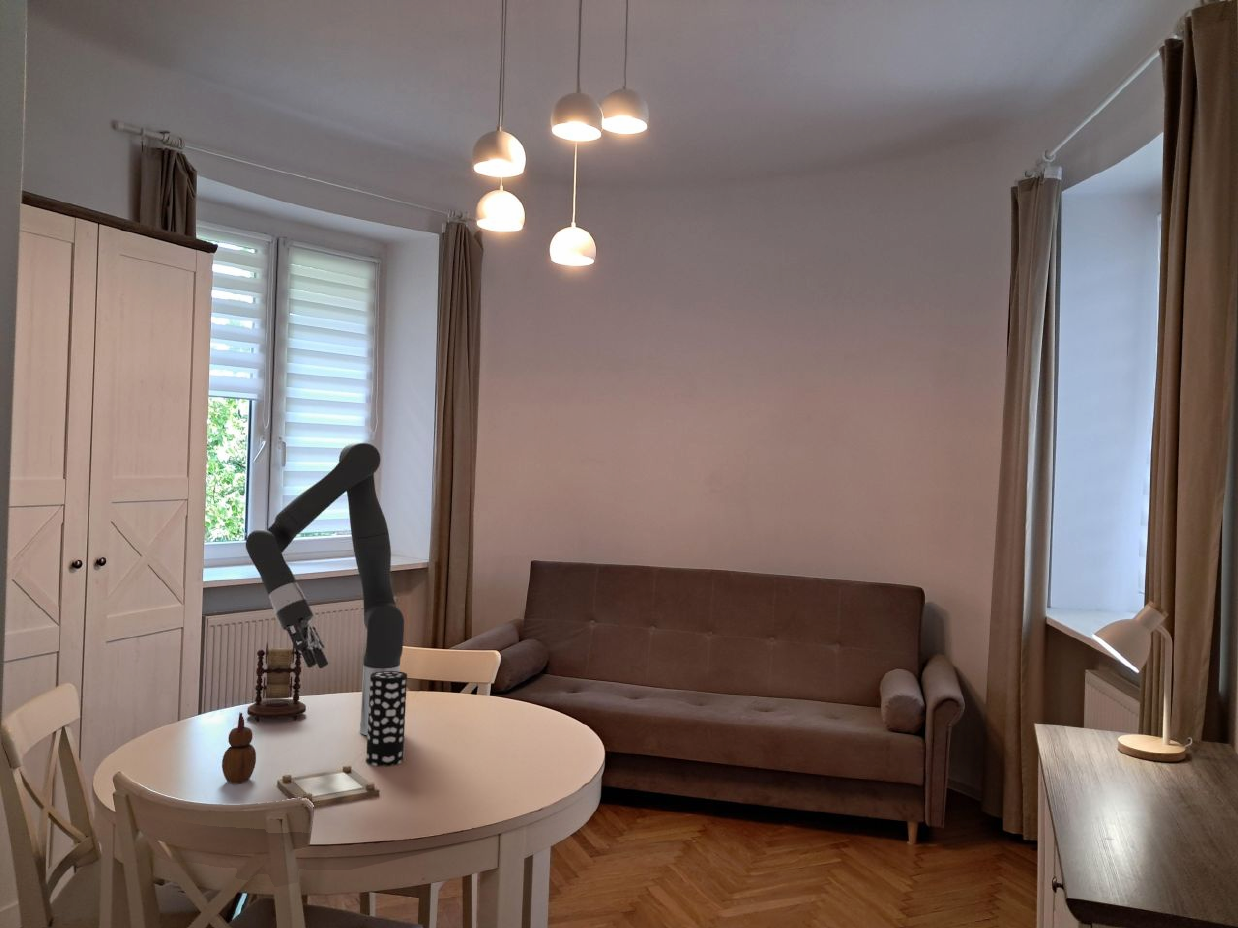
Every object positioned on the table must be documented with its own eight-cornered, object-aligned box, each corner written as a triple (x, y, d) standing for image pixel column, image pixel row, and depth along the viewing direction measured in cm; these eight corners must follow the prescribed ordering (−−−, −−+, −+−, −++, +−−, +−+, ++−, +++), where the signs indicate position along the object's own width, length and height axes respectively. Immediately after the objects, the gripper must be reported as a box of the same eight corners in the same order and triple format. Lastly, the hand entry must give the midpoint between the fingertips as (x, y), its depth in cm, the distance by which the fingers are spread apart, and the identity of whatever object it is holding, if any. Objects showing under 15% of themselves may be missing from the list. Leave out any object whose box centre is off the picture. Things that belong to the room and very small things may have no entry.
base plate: (350, 773, 201) (351, 763, 201) (379, 795, 188) (379, 784, 188) (277, 785, 191) (277, 775, 191) (301, 809, 178) (302, 798, 178)
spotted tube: (409, 758, 213) (414, 673, 214) (389, 768, 205) (394, 680, 206) (379, 753, 216) (383, 669, 216) (358, 762, 208) (363, 675, 208)
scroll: (304, 708, 253) (308, 637, 253) (306, 722, 239) (310, 646, 240) (248, 710, 248) (251, 637, 248) (245, 725, 234) (250, 648, 234)
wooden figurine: (240, 787, 189) (244, 715, 189) (216, 784, 190) (220, 712, 190) (259, 777, 196) (263, 707, 196) (235, 774, 197) (239, 705, 197)
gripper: (295, 595, 211) (324, 657, 208) (314, 600, 225) (341, 659, 221) (265, 611, 210) (294, 673, 207) (286, 615, 224) (313, 674, 220)
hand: (318, 666), depth 214 cm, fingers open, 8 cm apart
